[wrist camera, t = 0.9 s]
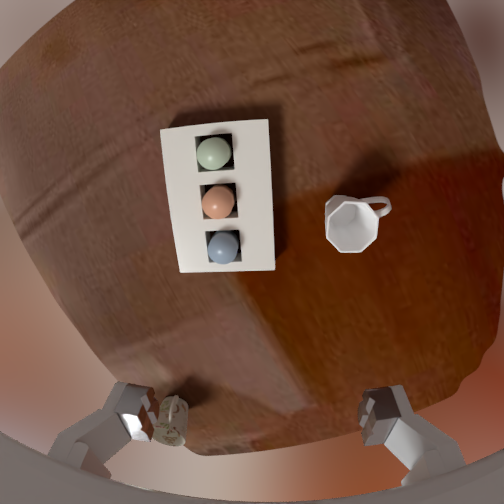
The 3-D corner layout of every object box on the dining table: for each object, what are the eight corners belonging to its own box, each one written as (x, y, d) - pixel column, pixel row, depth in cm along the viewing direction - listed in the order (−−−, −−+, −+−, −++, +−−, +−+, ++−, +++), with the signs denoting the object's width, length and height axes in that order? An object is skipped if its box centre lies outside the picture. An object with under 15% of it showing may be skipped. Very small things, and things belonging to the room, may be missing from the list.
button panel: (167, 129, 39) (160, 129, 36) (268, 119, 38) (268, 119, 35) (185, 263, 47) (180, 272, 44) (274, 260, 46) (275, 269, 43)
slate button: (209, 230, 43) (205, 237, 40) (237, 228, 43) (235, 236, 40) (213, 255, 45) (209, 264, 42) (239, 254, 44) (238, 263, 42)
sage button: (200, 138, 38) (195, 139, 35) (230, 135, 37) (227, 136, 35) (203, 167, 39) (198, 171, 37) (232, 165, 39) (229, 168, 36)
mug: (159, 408, 64) (149, 440, 55) (158, 377, 59) (145, 412, 50) (192, 416, 65) (184, 449, 56) (195, 387, 59) (186, 423, 50)
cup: (308, 195, 42) (316, 212, 34) (372, 171, 40) (393, 183, 32) (324, 238, 44) (335, 262, 37) (384, 215, 42) (405, 234, 35)
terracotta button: (204, 185, 40) (200, 190, 38) (234, 183, 40) (231, 188, 37) (207, 213, 42) (203, 220, 39) (236, 211, 42) (233, 218, 39)
